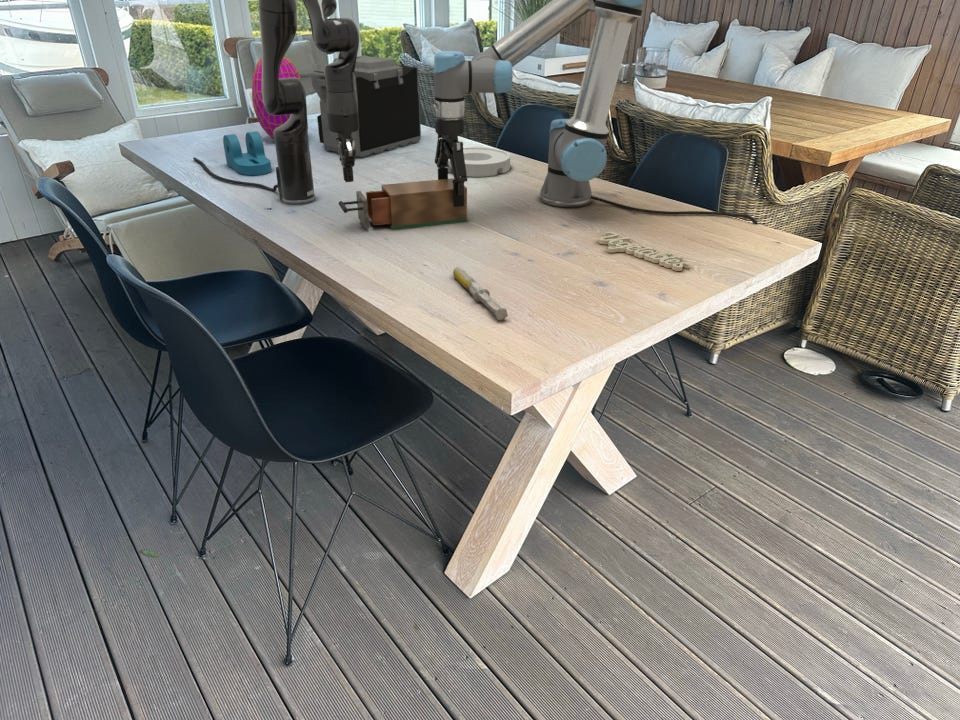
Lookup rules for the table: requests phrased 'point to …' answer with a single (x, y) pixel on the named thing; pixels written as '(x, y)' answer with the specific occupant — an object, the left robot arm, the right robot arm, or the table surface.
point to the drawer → (371, 208)
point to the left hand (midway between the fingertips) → (348, 181)
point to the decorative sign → (642, 251)
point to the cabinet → (424, 204)
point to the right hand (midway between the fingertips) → (450, 198)
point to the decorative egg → (264, 118)
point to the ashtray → (484, 161)
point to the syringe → (479, 293)
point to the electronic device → (377, 106)
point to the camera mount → (246, 154)
